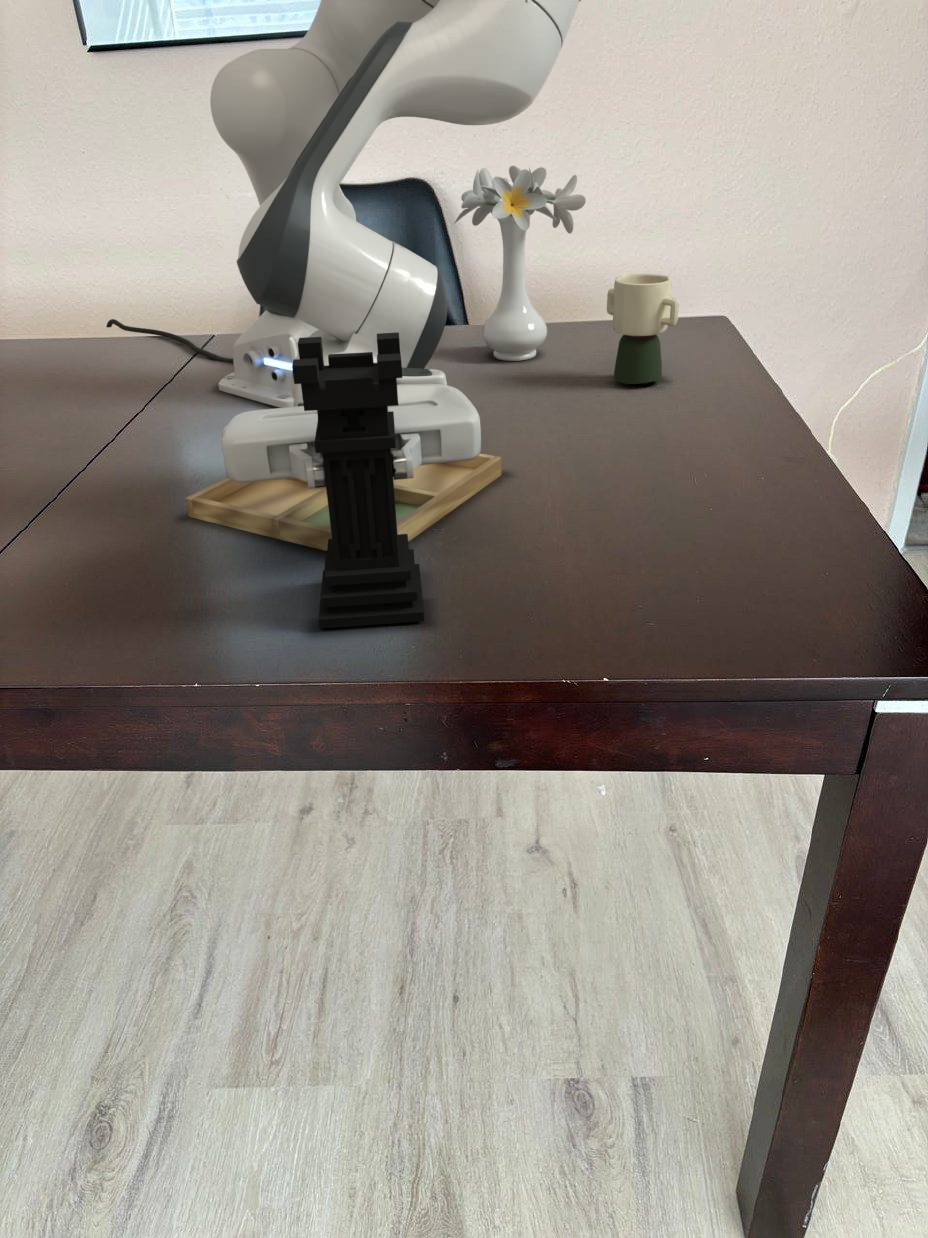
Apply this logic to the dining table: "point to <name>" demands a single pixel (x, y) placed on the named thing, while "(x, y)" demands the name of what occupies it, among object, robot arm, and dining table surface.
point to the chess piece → (360, 485)
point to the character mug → (641, 324)
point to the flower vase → (517, 251)
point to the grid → (305, 511)
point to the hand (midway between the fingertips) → (361, 474)
